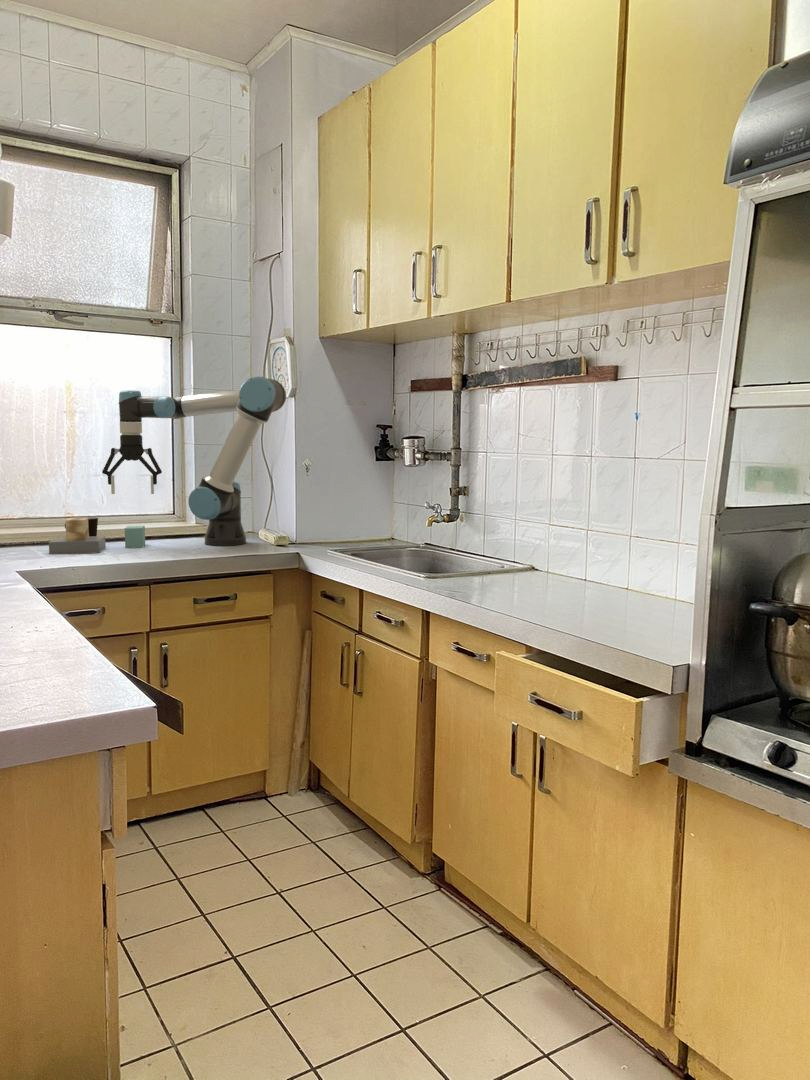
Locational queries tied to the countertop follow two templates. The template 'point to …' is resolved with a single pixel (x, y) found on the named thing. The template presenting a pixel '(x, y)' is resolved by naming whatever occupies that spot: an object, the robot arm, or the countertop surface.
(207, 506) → the robot arm
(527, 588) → the countertop surface
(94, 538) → the slate plinth
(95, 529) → the coffee mug
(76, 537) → the oak brick
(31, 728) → the countertop surface
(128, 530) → the teal brick
